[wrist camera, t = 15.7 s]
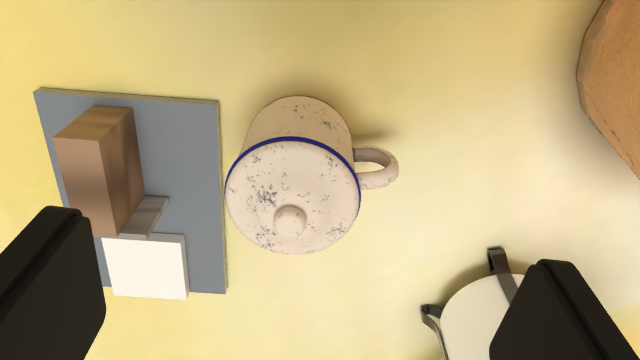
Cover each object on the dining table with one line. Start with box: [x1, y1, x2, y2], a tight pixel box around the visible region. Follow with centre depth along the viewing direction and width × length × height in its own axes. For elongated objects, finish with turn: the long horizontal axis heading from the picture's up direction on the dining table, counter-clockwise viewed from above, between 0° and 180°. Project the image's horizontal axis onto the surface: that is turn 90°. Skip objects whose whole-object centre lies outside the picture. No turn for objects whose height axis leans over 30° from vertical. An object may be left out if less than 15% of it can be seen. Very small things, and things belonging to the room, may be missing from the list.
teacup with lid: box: [224, 96, 399, 255], centre depth 32 cm, size 12×9×12 cm
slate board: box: [33, 88, 227, 294], centre depth 39 cm, size 20×14×1 cm
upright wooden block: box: [52, 105, 168, 240], centre depth 34 cm, size 8×7×6 cm
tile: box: [101, 233, 190, 300], centre depth 42 cm, size 1×7×7 cm
